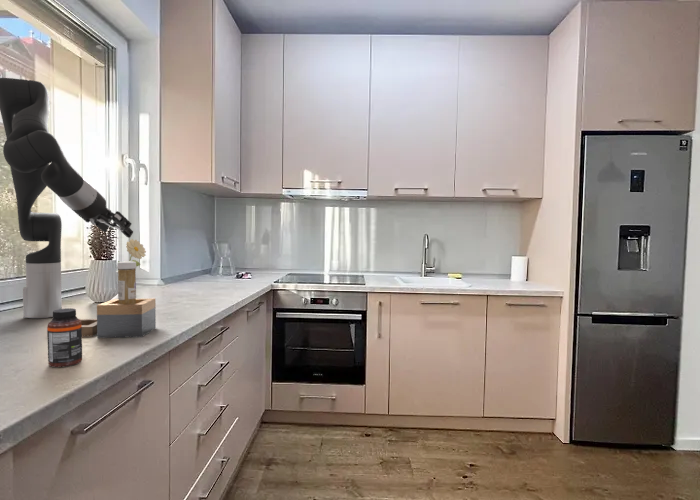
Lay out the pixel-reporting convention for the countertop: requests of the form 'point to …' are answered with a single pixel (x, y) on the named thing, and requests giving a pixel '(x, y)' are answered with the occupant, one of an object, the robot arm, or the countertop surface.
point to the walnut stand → (88, 327)
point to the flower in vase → (134, 253)
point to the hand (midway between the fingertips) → (118, 232)
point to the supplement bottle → (64, 338)
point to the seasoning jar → (126, 282)
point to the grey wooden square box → (126, 318)
